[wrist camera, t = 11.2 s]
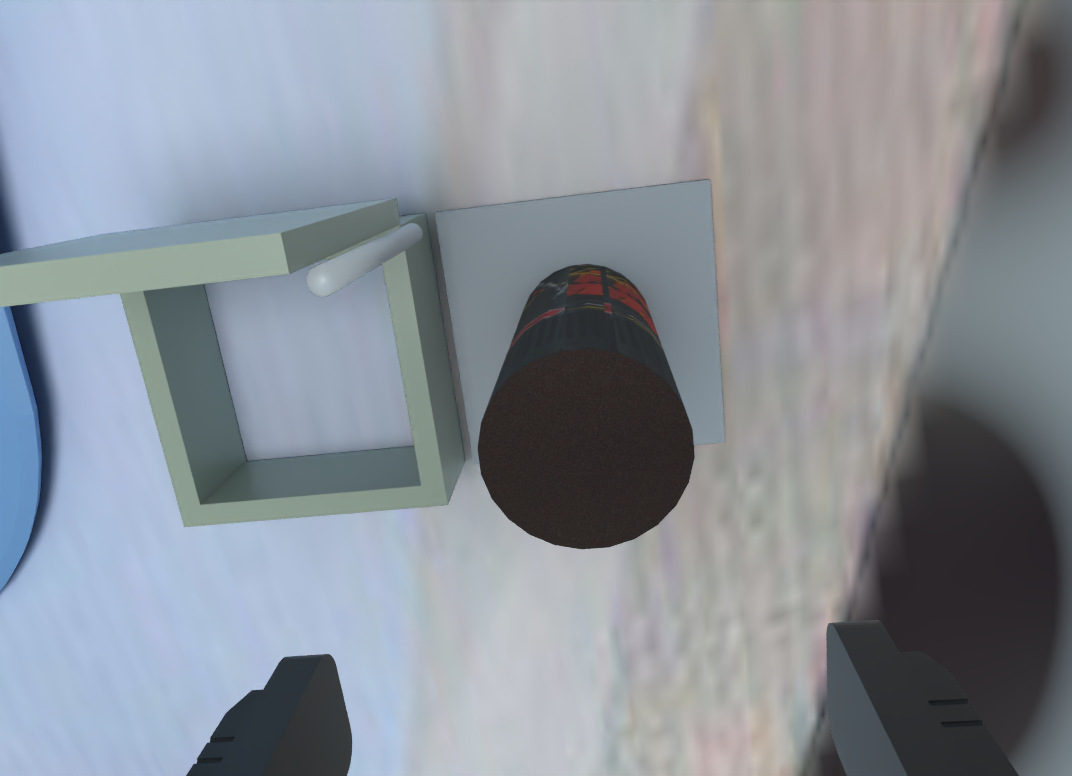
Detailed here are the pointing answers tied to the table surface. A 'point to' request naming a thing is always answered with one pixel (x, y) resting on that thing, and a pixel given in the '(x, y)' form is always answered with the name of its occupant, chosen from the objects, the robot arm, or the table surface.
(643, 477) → the deodorant
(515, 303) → the mat
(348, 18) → the table surface
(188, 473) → the case
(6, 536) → the island diorama
